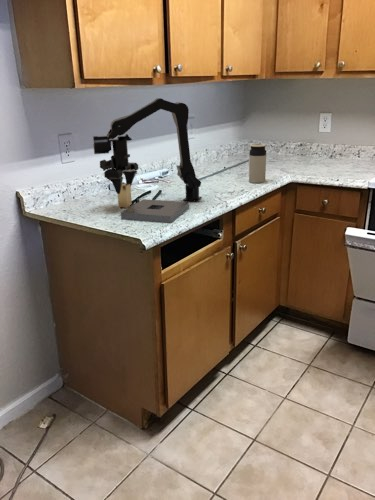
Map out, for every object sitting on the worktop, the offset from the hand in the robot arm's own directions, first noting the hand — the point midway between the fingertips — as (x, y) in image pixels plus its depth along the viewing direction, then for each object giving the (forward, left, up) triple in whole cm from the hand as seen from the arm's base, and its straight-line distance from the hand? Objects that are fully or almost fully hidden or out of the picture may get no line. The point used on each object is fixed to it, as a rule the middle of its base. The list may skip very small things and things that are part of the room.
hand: (123, 191), depth 180 cm
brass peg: (0, 0, -6) cm, 6 cm away
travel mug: (-56, +44, -6) cm, 72 cm away
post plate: (+7, +17, -6) cm, 19 cm away
